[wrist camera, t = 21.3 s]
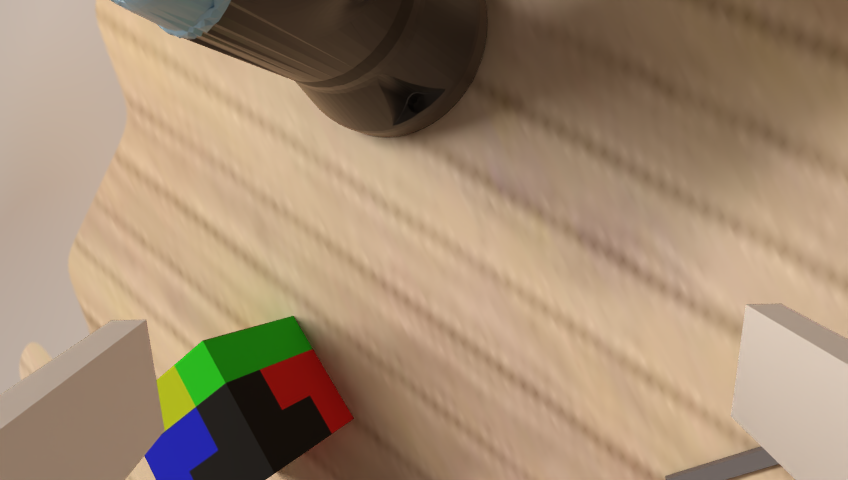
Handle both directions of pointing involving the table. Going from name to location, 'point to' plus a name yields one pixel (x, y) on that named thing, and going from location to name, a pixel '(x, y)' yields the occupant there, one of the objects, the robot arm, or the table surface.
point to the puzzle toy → (244, 406)
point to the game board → (728, 466)
